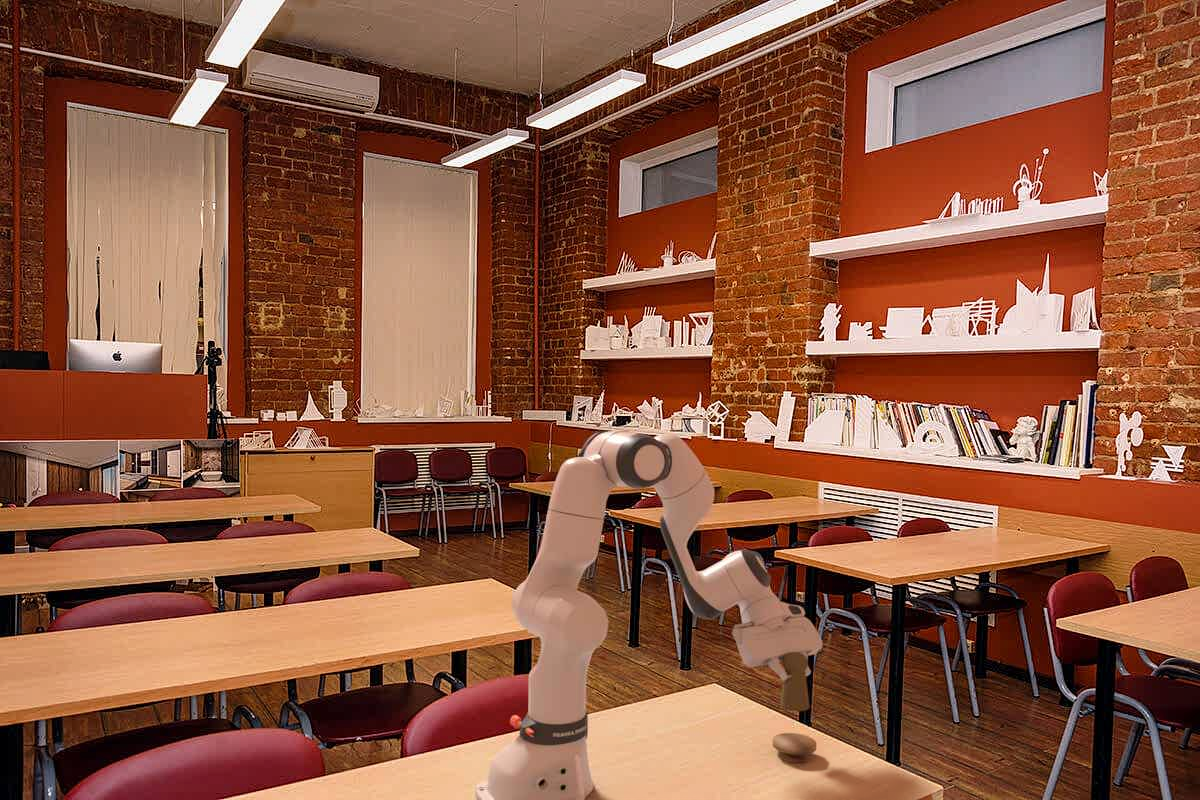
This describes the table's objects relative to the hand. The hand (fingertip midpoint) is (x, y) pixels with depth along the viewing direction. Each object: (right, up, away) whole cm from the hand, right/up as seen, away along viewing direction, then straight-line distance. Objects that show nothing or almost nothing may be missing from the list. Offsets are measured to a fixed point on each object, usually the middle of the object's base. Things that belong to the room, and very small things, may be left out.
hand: (797, 677), depth 181 cm
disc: (0, -17, +1) cm, 17 cm away
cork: (0, -6, +1) cm, 6 cm away
